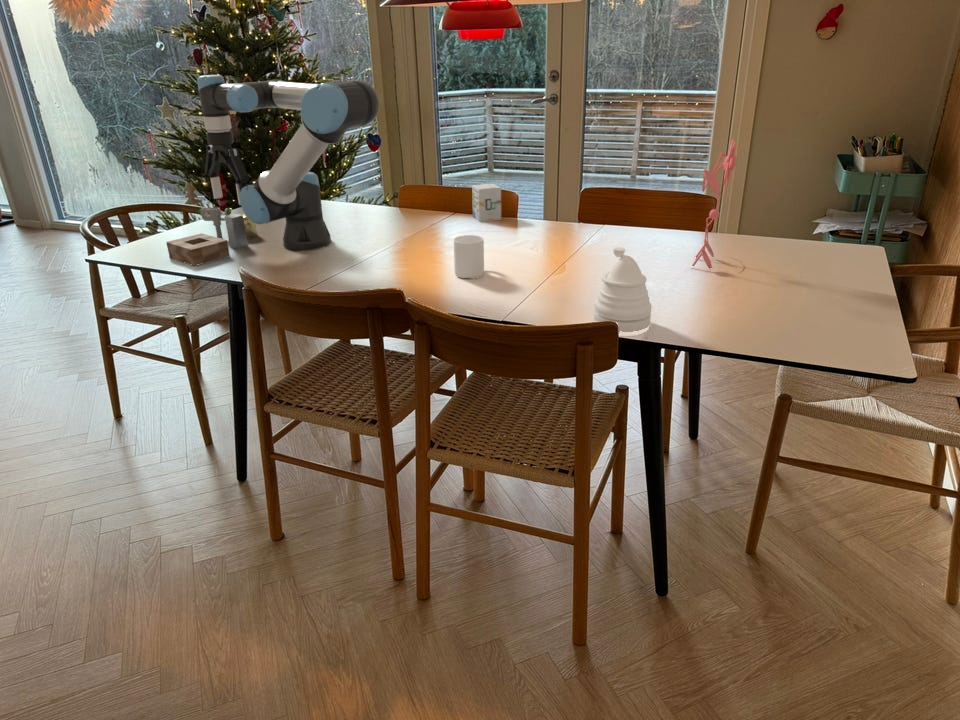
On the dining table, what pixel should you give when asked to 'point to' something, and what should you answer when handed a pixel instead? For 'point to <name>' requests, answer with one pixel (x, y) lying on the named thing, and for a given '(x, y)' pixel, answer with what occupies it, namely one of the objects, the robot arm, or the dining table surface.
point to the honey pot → (624, 295)
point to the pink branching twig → (712, 182)
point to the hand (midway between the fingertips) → (230, 201)
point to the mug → (469, 256)
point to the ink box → (486, 202)
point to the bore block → (198, 249)
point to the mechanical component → (214, 217)
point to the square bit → (236, 231)
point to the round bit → (249, 227)
